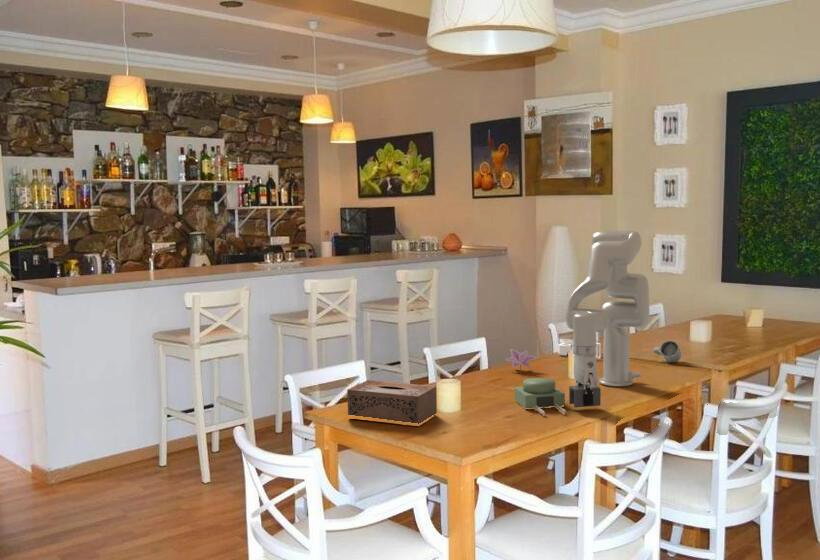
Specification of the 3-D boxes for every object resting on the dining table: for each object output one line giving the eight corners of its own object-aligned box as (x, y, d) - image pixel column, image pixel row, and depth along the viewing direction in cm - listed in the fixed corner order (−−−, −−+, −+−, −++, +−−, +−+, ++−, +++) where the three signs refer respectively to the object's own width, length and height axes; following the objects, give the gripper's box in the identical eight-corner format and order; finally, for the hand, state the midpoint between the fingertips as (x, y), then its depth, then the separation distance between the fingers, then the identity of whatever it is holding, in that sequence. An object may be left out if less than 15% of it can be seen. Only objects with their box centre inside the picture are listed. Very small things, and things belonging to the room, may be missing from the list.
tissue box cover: (348, 419, 251) (347, 389, 250) (368, 408, 264) (368, 380, 263) (418, 427, 240) (418, 396, 239) (436, 415, 253) (436, 386, 252)
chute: (569, 403, 257) (569, 386, 256) (594, 401, 258) (594, 384, 258) (574, 407, 252) (574, 389, 251) (600, 405, 253) (600, 388, 253)
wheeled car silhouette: (552, 356, 345) (552, 340, 344) (569, 353, 351) (569, 337, 351) (587, 363, 329) (587, 346, 328) (604, 359, 336) (604, 343, 335)
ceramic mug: (676, 366, 325) (686, 352, 326) (671, 360, 319) (681, 345, 319) (654, 355, 332) (664, 340, 332) (650, 348, 326) (660, 333, 326)
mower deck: (552, 398, 271) (552, 376, 270) (574, 414, 250) (574, 390, 249) (514, 401, 268) (514, 378, 268) (533, 417, 248) (533, 393, 247)
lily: (542, 372, 313) (538, 349, 317) (525, 368, 305) (522, 345, 308) (518, 378, 321) (515, 356, 324) (501, 374, 313) (499, 352, 316)
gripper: (605, 354, 245) (605, 409, 247) (585, 344, 262) (585, 395, 264) (583, 355, 244) (584, 410, 246) (564, 345, 261) (564, 397, 263)
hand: (584, 402), depth 255 cm, fingers closed on chute, 5 cm apart
